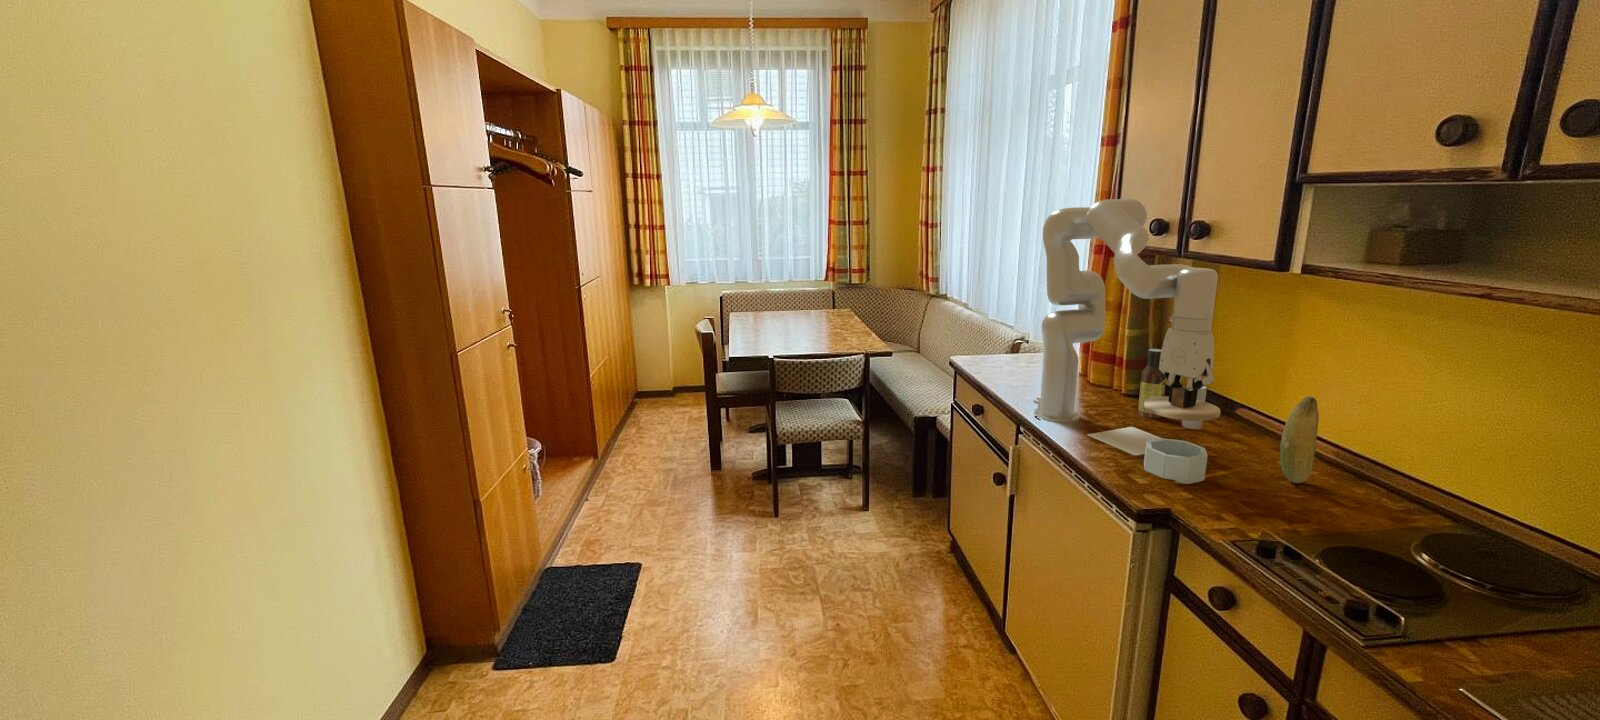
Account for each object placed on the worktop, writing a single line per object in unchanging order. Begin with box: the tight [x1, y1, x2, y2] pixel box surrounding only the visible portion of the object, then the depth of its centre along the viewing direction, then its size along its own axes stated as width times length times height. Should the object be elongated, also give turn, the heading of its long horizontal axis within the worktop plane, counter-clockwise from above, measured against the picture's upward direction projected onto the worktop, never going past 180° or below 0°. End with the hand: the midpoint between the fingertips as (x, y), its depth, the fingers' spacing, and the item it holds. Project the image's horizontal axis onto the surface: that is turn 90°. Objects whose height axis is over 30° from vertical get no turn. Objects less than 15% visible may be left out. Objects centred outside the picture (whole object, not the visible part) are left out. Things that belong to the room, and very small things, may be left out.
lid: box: [1144, 386, 1221, 422], centre depth 146 cm, size 15×15×5 cm
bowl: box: [1143, 437, 1209, 485], centre depth 150 cm, size 12×12×6 cm
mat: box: [1086, 426, 1162, 456], centre depth 169 cm, size 16×16×1 cm
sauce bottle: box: [1137, 348, 1167, 419], centre depth 187 cm, size 7×6×20 cm
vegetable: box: [1279, 396, 1320, 484], centre depth 142 cm, size 6×6×20 cm
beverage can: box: [1181, 385, 1207, 430], centre depth 177 cm, size 5×5×12 cm
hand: (1181, 403), depth 147 cm, fingers closed on lid, 3 cm apart
